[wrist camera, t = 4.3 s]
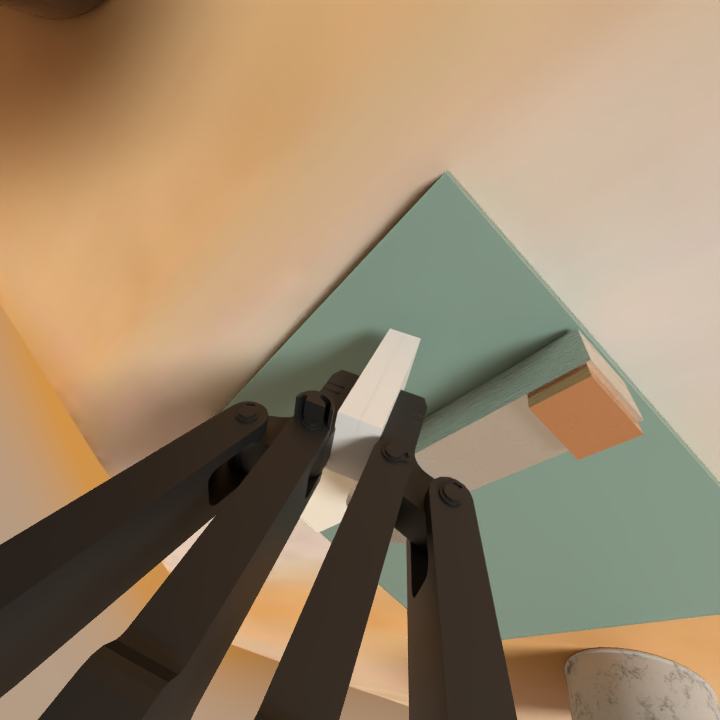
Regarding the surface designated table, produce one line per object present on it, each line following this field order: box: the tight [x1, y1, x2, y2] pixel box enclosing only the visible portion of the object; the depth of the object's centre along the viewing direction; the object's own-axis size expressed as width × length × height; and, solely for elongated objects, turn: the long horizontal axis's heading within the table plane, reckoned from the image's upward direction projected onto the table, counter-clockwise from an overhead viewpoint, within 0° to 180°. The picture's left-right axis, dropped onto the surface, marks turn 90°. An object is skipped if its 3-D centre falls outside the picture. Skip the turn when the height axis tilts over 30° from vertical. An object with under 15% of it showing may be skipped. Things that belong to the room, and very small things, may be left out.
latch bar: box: [346, 328, 644, 543], centre depth 18 cm, size 14×4×4 cm, turn 137°
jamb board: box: [220, 171, 720, 640], centre depth 22 cm, size 28×24×4 cm
